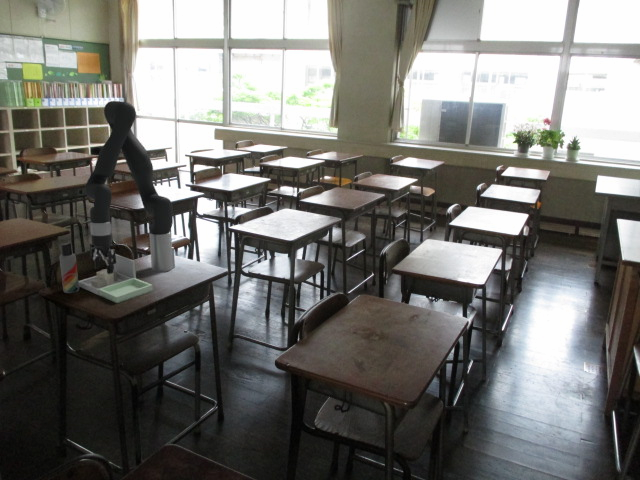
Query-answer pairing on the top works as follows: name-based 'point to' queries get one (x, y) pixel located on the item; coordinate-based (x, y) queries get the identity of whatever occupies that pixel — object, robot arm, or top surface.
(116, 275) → the grey cubic sharp-edged block
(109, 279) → the beige block
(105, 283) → the pale grey block
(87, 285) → the grey bin
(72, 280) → the lotion bottle
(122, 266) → the grey drawer face panel
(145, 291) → the green bin
